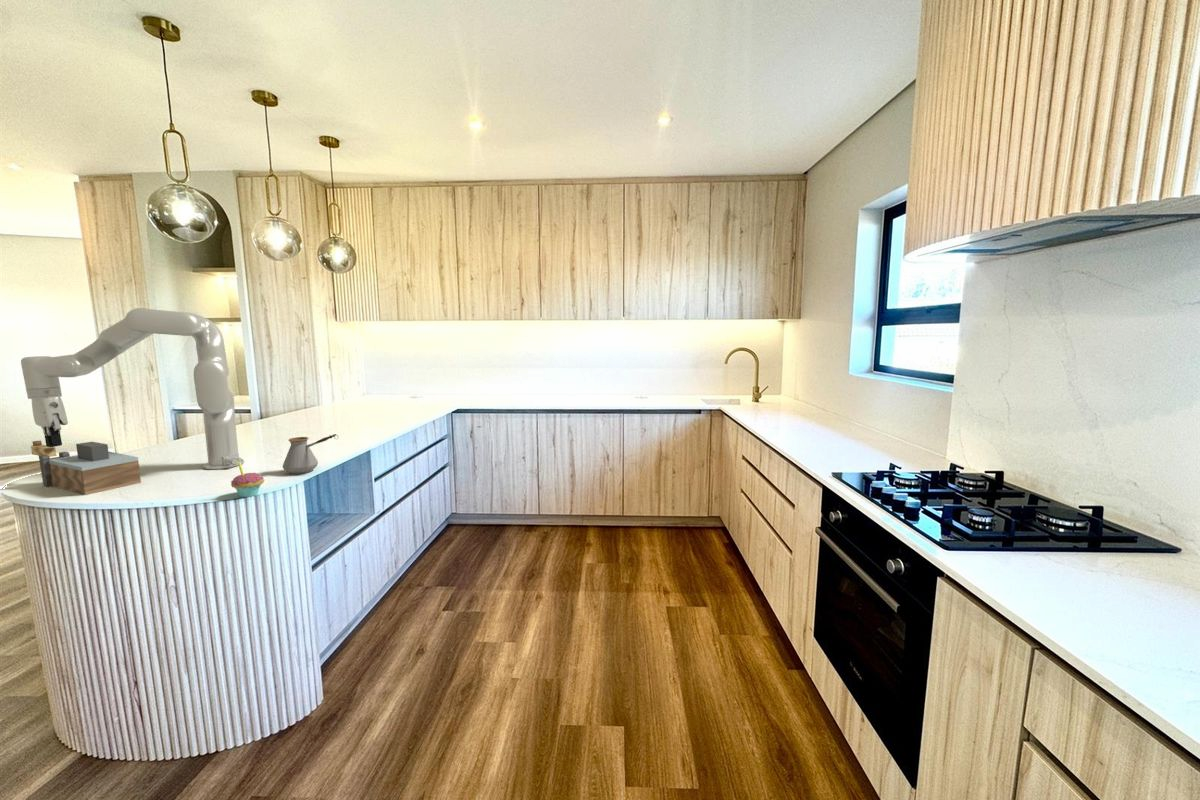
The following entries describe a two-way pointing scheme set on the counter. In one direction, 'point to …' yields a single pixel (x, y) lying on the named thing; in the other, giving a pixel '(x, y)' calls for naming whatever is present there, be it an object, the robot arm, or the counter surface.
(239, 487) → the cupcake
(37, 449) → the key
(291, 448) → the coffee pot
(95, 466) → the lid
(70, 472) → the chest
